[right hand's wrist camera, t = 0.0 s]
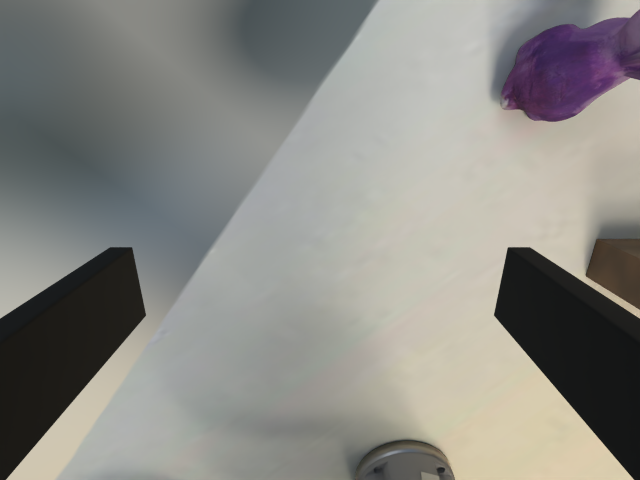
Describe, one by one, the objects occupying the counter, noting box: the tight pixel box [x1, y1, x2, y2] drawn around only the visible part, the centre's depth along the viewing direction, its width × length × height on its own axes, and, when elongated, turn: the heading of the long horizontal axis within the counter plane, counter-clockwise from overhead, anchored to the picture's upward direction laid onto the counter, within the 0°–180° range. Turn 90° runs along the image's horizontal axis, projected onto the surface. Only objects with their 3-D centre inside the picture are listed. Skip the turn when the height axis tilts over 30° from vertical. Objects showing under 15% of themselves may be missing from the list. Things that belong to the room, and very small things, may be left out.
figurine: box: [500, 10, 640, 122], centre depth 28 cm, size 9×10×15 cm
